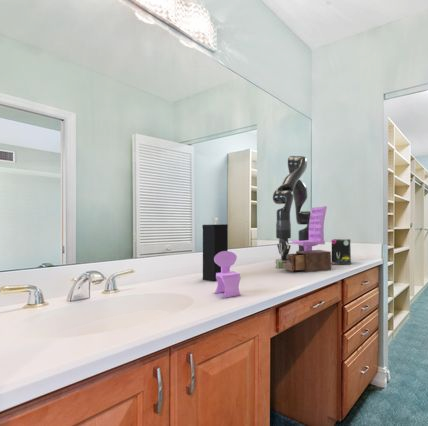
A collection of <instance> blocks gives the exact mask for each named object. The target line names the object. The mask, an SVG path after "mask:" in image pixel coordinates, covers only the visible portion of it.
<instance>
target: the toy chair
mask: <svg viewBox="0 0 428 426" xmlns="http://www.w3.org/2000/svg"><path fill="white" fill-rule="evenodd" d="M237 259H238V257H237V255H236V253H235V252H233V251H230V250H228V251H222V252H219V253H218V254H216V255H215V257H214V262H215V263H216V264H217V265H218V266H220V267H221V273H216V279H217V281H216V283H217V284H216V285H217V286H216V289H215V291H214V294H220V293H221V294H222V293H223V295H222V297H221V298H222V299H225V298H231V297H237V296H241V292H240V286H239V285H240V281H241V273H239V272H236V271H234V270H231V267H232V266H234V265H235V263H236V261H237Z"/></svg>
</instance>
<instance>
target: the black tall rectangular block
mask: <svg viewBox="0 0 428 426" xmlns="http://www.w3.org/2000/svg"><path fill="white" fill-rule="evenodd" d="M218 220H219V218H218V217H213V216H212V221H213V224H202V281H203V280H204V281H211V282H217V279H216V273H221V267H220V266H218V265H217V264H216V263H215V262H214V257H215V255H216V254H218V253H219V252H222V251H229V250H228V247H229V246H228V245H229V244H228V243H229V241H228V236H229V235H228V231H229V229H228V228H229V225H228V224H227V223H226V224H224V223H223V224H222V223H221V224H220V223H219V224H217V223H218Z"/></svg>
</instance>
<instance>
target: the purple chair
mask: <svg viewBox="0 0 428 426" xmlns="http://www.w3.org/2000/svg"><path fill="white" fill-rule="evenodd" d="M327 209H328V207H327V205H326V206H325V205H324V206H314V207H311V209H310V212H311V215H310V220H309V240H305V241H299V240H291V245H298V246H299V245H301V246H304V251H308V250H313V247H315V246H318V245H325V244H326V241H325V234H324V228H325V227H324V226H325V220H326V219H325V218H326V213H327Z"/></svg>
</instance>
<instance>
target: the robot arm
mask: <svg viewBox="0 0 428 426" xmlns="http://www.w3.org/2000/svg"><path fill="white" fill-rule="evenodd" d="M307 167H308V159H307V157H306V156H304V155H289V156H288V158H287V168H288V173H289V174H287V175H286V176H285V177H284V179H283V181H282V183H281V185H279V186H278V187H277V188H276V189H275V190H274V192H273V193H272V201H273V202H274V204H275V205H284V206H283V207H281V208H278V209H277V210H276V217H275V218H276V223H275V238H276V239H278V243H277V244H276V245H277V250H278V253H279V255H280V259H281V260H283V261H286V256H287V255H288V254H290V250H291V245H290V244H289V239H292V226H291V225H292V224H291V209H292V206H293V203H294V209H295V220H296V224H298V225H300V226H301V225H303V226H304V225H306V226H305V227H304V228H302V229H299V230H298V231H297V232H298V241H305V240H309V220H310V215H311V210H301V209H302V208H303V206H304V204H305V202H307V199H308V188H307V185H306V184H305V183H304V182H303V180H302V179H301V177H302V176H303V175H304V173H306V170H307ZM297 251H304V246H301V245H298V250H297ZM284 263H286V262H284Z"/></svg>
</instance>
